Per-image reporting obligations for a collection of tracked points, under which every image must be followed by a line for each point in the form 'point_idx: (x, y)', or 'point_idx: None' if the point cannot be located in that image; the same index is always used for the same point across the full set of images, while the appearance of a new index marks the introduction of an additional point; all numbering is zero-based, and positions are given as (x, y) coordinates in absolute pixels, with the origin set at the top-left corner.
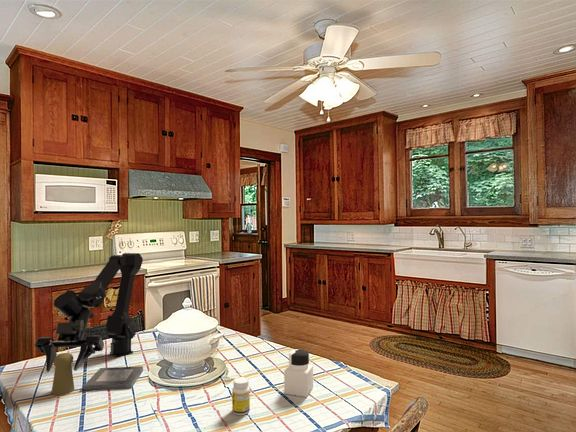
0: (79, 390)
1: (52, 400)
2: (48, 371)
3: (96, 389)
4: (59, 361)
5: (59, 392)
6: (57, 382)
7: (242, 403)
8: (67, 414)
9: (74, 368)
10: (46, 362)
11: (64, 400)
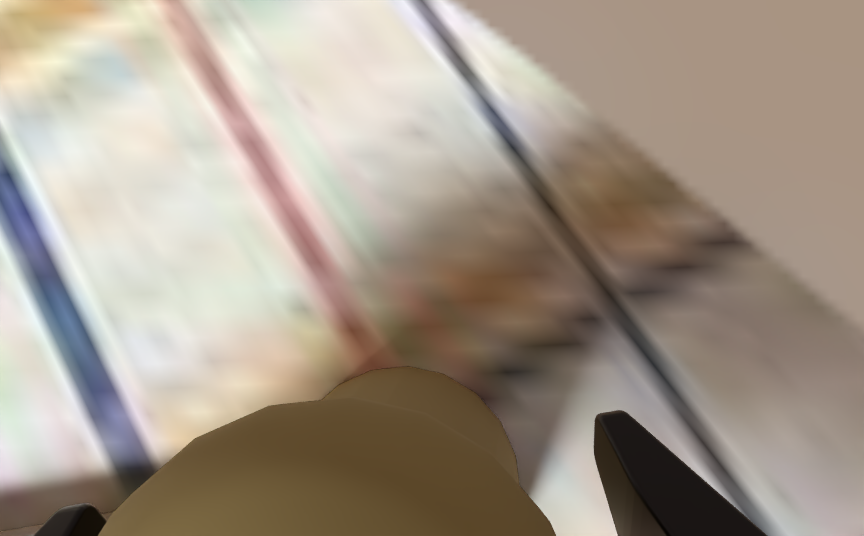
0: None
1: (370, 250)
2: (594, 443)
3: (10, 530)
4: (285, 406)
5: (368, 373)
6: (393, 389)
7: None
8: (64, 4)
9: (71, 513)
10: (754, 529)
11: (244, 257)
